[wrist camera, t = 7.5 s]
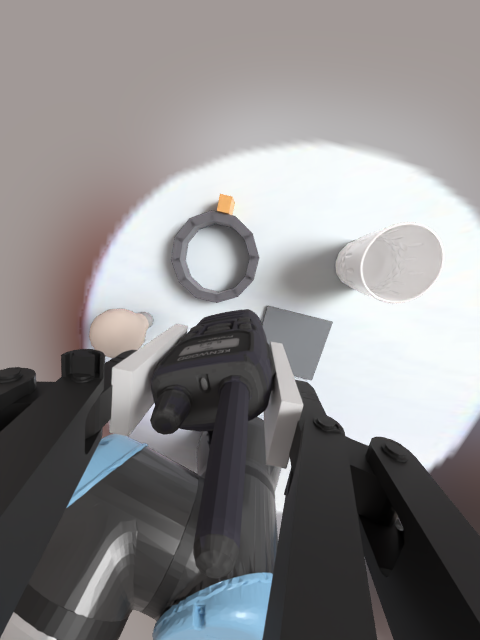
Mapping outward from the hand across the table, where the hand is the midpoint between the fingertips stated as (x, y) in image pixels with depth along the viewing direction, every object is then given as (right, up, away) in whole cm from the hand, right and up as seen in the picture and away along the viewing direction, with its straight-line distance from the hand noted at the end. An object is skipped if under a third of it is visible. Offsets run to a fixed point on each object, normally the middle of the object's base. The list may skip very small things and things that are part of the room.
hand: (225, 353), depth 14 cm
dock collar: (-2, +12, +19) cm, 23 cm away
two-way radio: (0, +1, +4) cm, 4 cm away
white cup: (+18, +10, +18) cm, 27 cm away
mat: (+9, -2, +22) cm, 23 cm away
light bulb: (-14, +2, +23) cm, 27 cm away
